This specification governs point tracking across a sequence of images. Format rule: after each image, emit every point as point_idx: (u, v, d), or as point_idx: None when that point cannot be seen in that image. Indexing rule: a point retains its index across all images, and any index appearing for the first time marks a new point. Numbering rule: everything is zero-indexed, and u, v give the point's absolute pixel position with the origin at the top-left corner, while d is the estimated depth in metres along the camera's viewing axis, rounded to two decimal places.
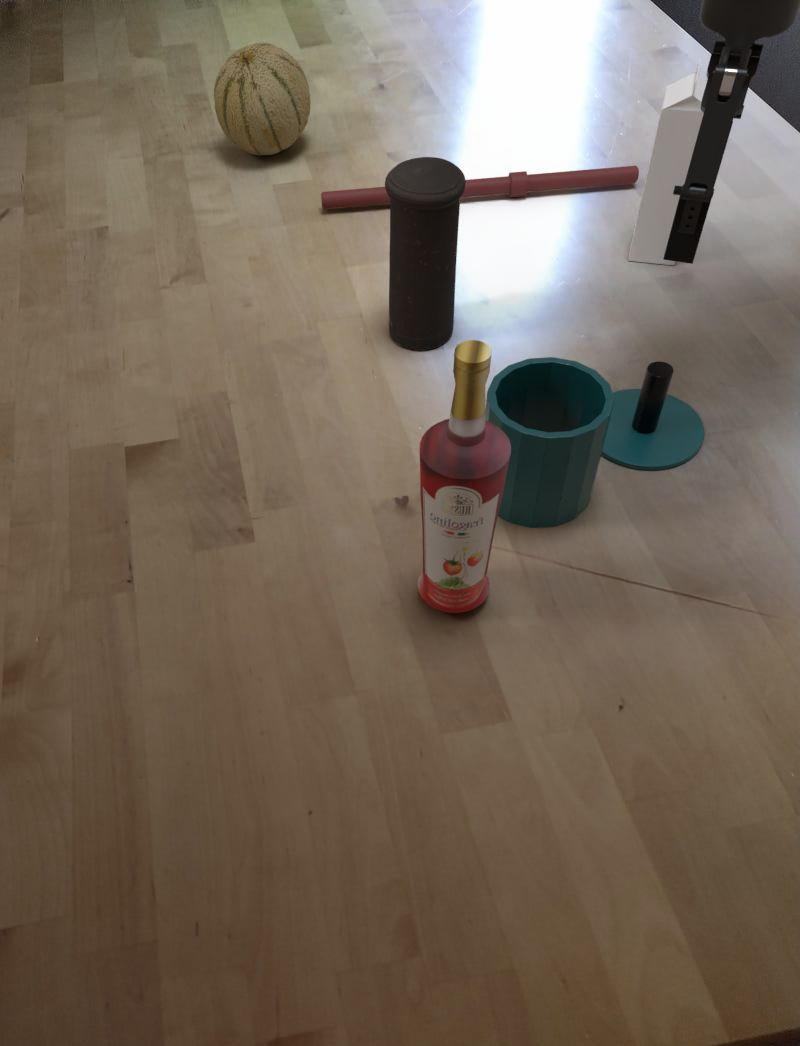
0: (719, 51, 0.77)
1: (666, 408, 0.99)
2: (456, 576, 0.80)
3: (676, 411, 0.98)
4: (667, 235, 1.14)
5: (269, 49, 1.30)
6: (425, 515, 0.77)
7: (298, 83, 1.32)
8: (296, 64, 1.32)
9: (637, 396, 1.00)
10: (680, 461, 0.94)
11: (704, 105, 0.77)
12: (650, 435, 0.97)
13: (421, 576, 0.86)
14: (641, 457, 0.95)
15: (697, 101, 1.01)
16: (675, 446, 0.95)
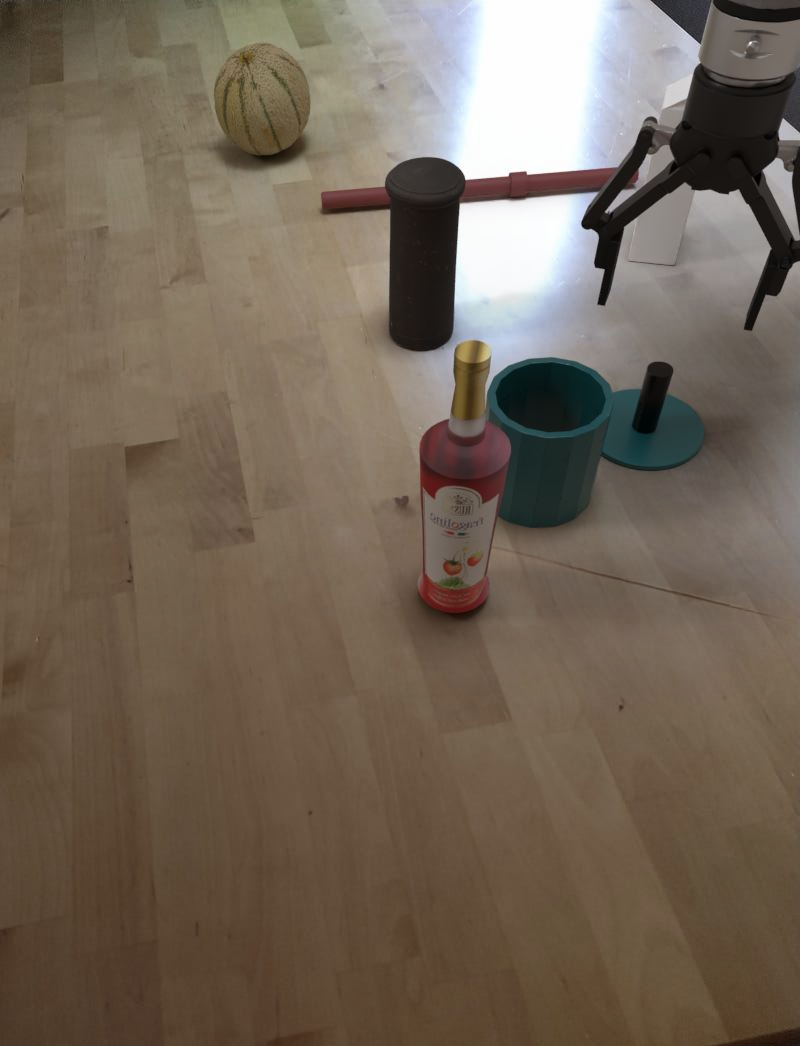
0: (710, 159, 0.74)
1: (666, 408, 0.99)
2: (456, 576, 0.80)
3: (676, 411, 0.98)
4: (667, 235, 1.14)
5: (269, 49, 1.30)
6: (425, 515, 0.77)
7: (298, 83, 1.32)
8: (296, 64, 1.32)
9: (637, 396, 1.00)
10: (680, 461, 0.94)
11: (761, 195, 0.74)
12: (650, 435, 0.97)
13: (421, 576, 0.86)
14: (641, 457, 0.95)
15: None
16: (675, 446, 0.95)
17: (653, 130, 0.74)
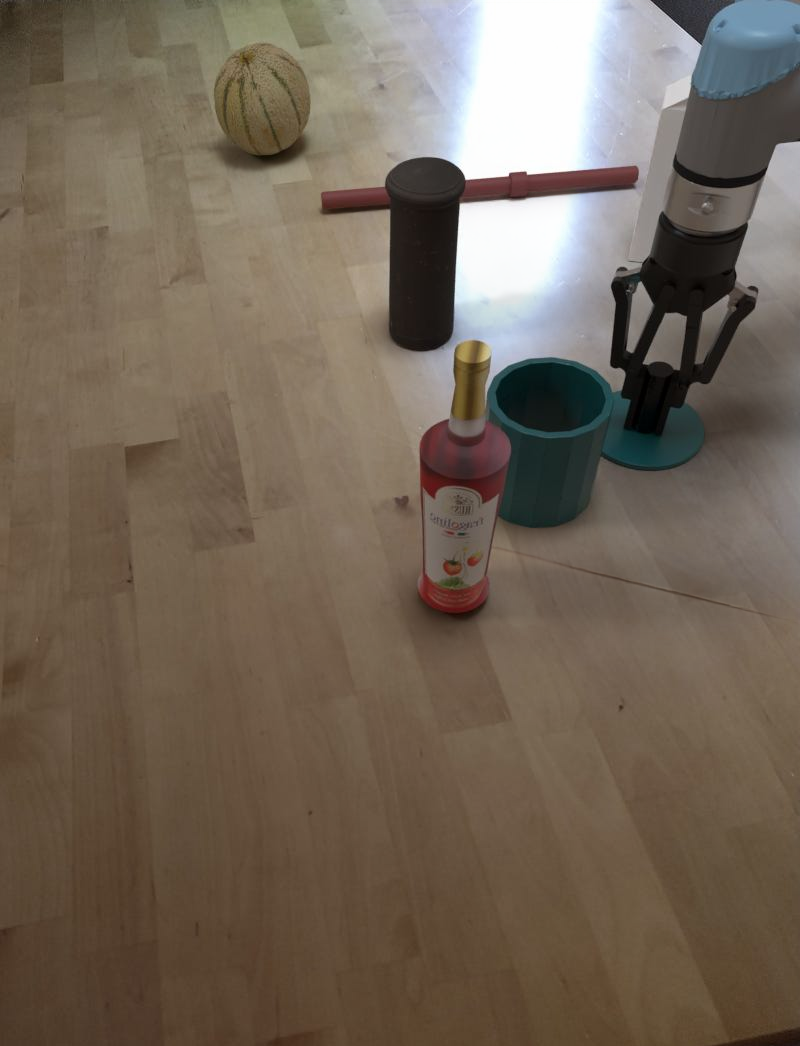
0: (675, 285, 0.83)
1: None
2: (456, 576, 0.80)
3: (676, 411, 0.98)
4: None
5: (269, 49, 1.30)
6: (425, 515, 0.77)
7: (298, 83, 1.32)
8: (296, 64, 1.32)
9: None
10: (680, 461, 0.94)
11: (699, 326, 0.85)
12: (650, 435, 0.97)
13: (421, 576, 0.86)
14: (641, 457, 0.95)
15: None
16: (675, 446, 0.95)
17: (622, 278, 0.85)
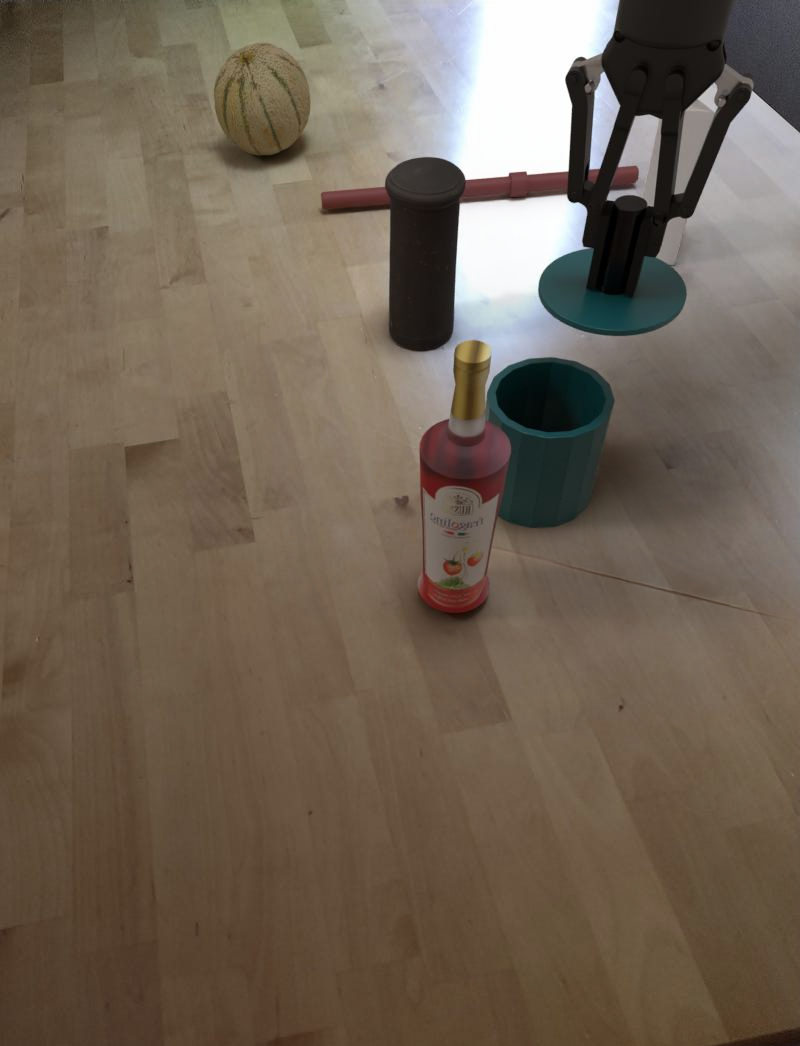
0: (646, 71, 0.64)
1: None
2: (456, 576, 0.80)
3: (652, 270, 0.79)
4: (667, 235, 1.14)
5: (269, 49, 1.30)
6: (425, 515, 0.77)
7: (298, 83, 1.32)
8: (296, 64, 1.32)
9: None
10: (655, 325, 0.75)
11: (678, 132, 0.66)
12: (619, 296, 0.78)
13: (421, 576, 0.86)
14: (607, 320, 0.76)
15: (697, 101, 1.01)
16: (650, 308, 0.76)
17: (579, 68, 0.66)
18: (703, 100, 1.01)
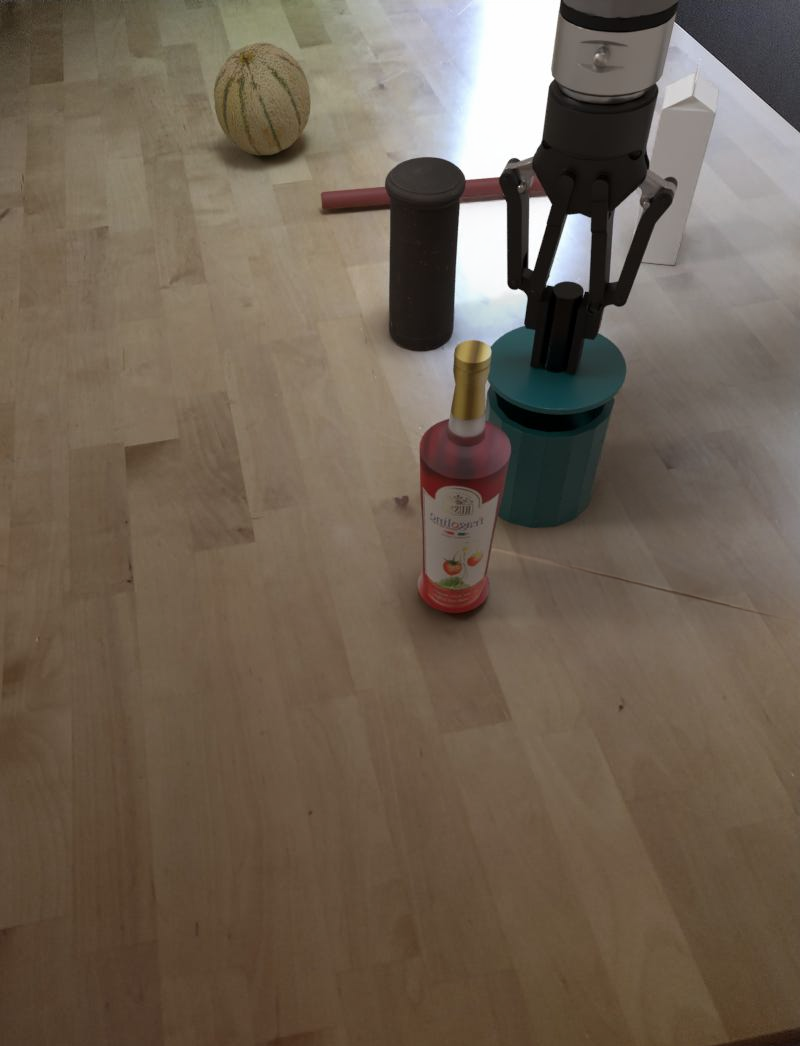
0: (574, 176, 0.67)
1: None
2: (456, 576, 0.80)
3: (594, 347, 0.83)
4: (667, 235, 1.14)
5: (269, 49, 1.30)
6: (425, 515, 0.77)
7: (298, 83, 1.32)
8: (296, 64, 1.32)
9: None
10: (595, 404, 0.78)
11: (607, 230, 0.69)
12: (561, 374, 0.81)
13: (421, 576, 0.86)
14: (548, 399, 0.79)
15: (697, 101, 1.01)
16: (590, 386, 0.79)
17: (512, 170, 0.69)
18: (703, 100, 1.01)
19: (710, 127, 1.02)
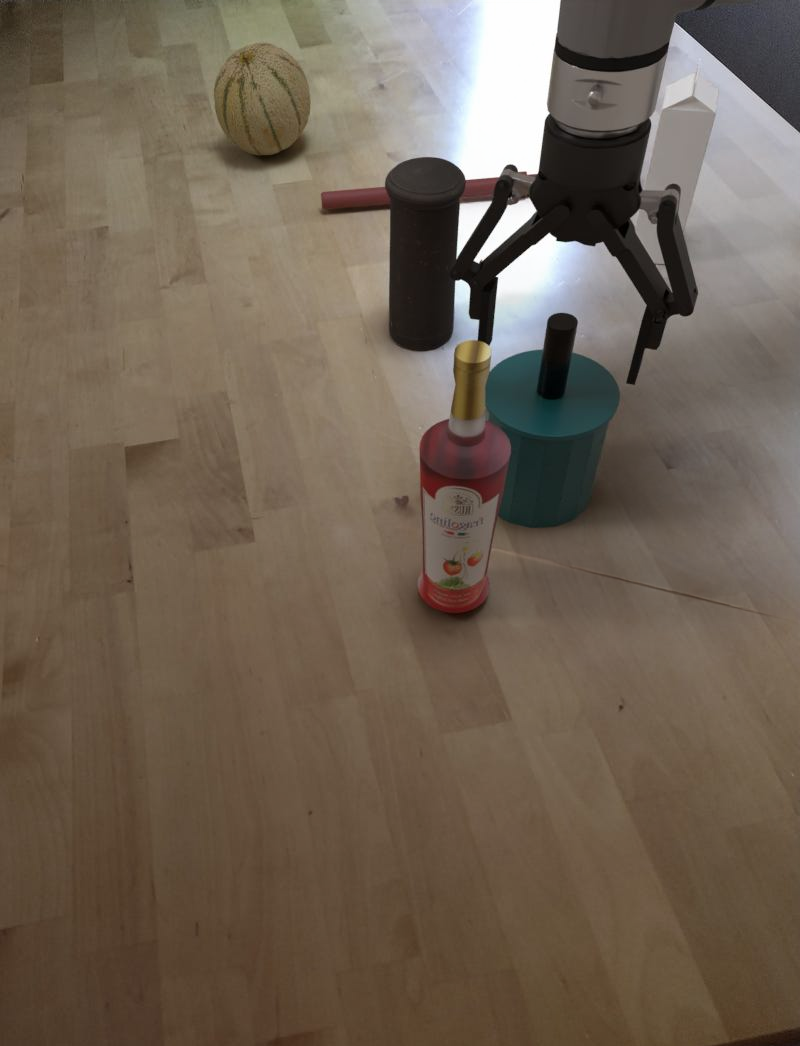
0: (571, 210, 0.69)
1: (578, 371, 0.85)
2: (456, 576, 0.80)
3: (589, 374, 0.85)
4: None
5: (269, 49, 1.30)
6: (425, 515, 0.77)
7: (298, 83, 1.32)
8: (296, 64, 1.32)
9: None
10: (589, 430, 0.81)
11: (627, 247, 0.69)
12: (557, 401, 0.83)
13: (421, 576, 0.86)
14: (544, 426, 0.81)
15: (697, 101, 1.01)
16: (584, 413, 0.82)
17: (511, 180, 0.70)
18: (703, 100, 1.01)
19: (710, 127, 1.02)
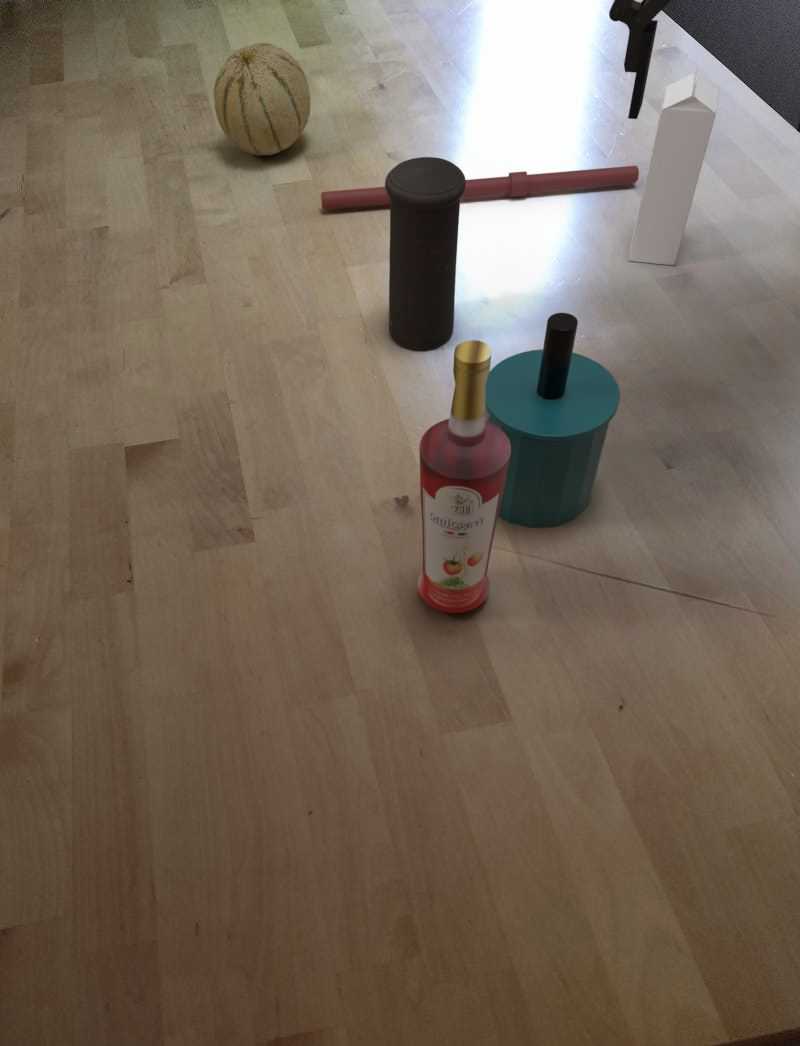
0: None
1: (578, 371, 0.85)
2: (456, 576, 0.80)
3: (589, 374, 0.85)
4: (667, 235, 1.14)
5: (269, 49, 1.30)
6: (425, 515, 0.77)
7: (298, 83, 1.32)
8: (296, 64, 1.32)
9: None
10: (589, 430, 0.81)
11: None
12: (557, 401, 0.83)
13: (421, 576, 0.86)
14: (544, 426, 0.81)
15: (697, 101, 1.01)
16: (584, 413, 0.82)
17: None
18: (703, 100, 1.01)
19: (710, 127, 1.02)
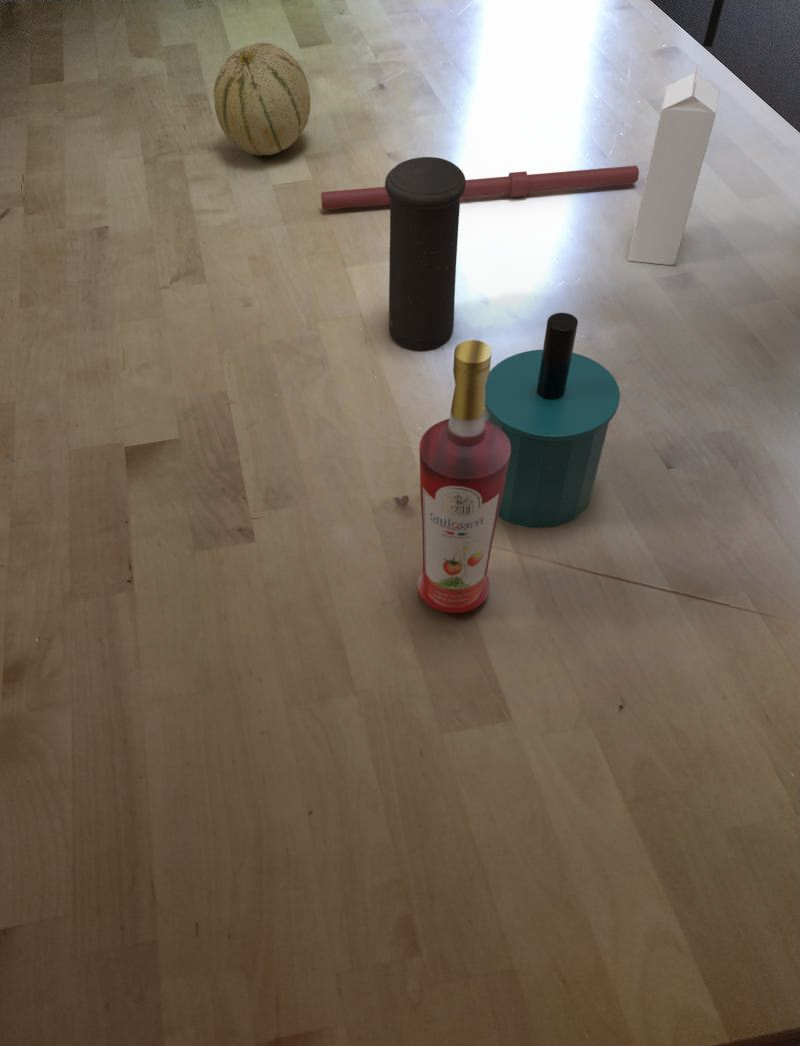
0: None
1: (578, 371, 0.85)
2: (456, 576, 0.80)
3: (589, 374, 0.85)
4: (667, 235, 1.14)
5: (269, 49, 1.30)
6: (425, 515, 0.77)
7: (298, 83, 1.32)
8: (296, 64, 1.32)
9: None
10: (589, 430, 0.81)
11: None
12: (557, 401, 0.83)
13: (421, 576, 0.86)
14: (544, 426, 0.81)
15: (697, 101, 1.01)
16: (584, 413, 0.82)
17: None
18: (703, 100, 1.01)
19: (710, 127, 1.02)
